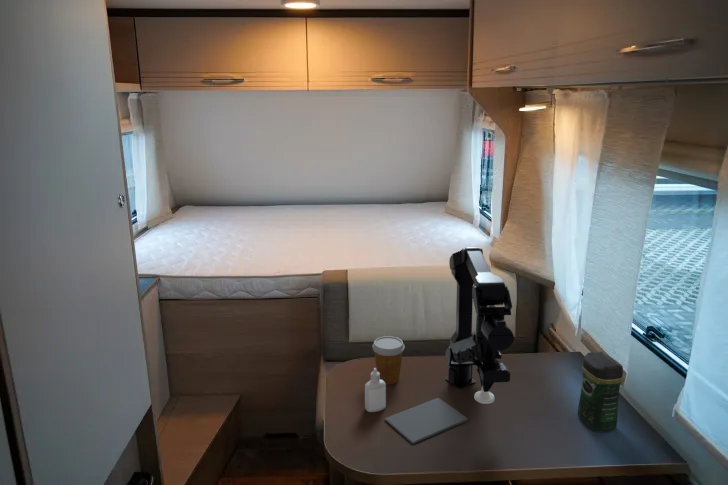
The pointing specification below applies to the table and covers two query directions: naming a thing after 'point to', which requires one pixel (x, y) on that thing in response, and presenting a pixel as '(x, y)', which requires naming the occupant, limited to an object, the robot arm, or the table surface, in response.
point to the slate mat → (425, 420)
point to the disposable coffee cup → (388, 358)
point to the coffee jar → (600, 392)
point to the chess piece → (484, 397)
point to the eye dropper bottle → (375, 393)
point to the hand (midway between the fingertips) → (484, 389)
